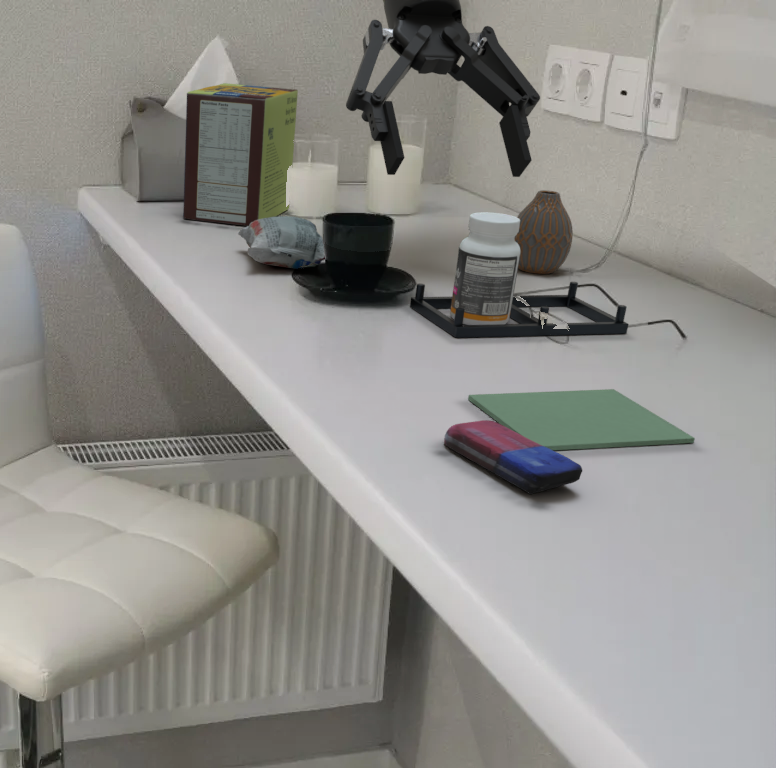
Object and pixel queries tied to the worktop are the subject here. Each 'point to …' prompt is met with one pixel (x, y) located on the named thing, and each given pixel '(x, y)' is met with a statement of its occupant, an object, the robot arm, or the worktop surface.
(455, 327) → the black rectangular frame
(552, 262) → the vase
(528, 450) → the eraser
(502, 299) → the pill bottle
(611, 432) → the mat
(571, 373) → the worktop surface
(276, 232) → the packaged food
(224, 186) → the protein box
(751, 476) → the worktop surface
